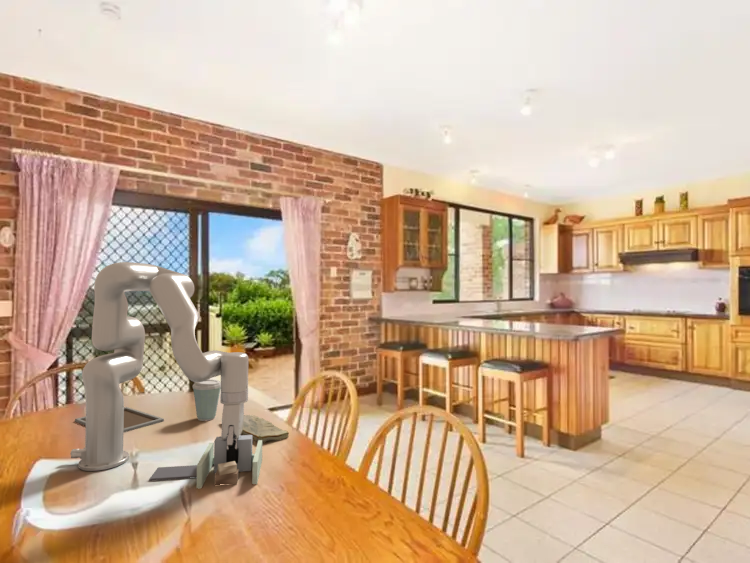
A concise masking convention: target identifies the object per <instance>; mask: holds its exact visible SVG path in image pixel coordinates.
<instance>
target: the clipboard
mask: <svg viewBox="0 0 750 563" xmlns="http://www.w3.org/2000/svg"><path fill="white" fill-rule="evenodd" d="M164 421H165V419H164V418H163V417H159V416H157V415H154V414H151V413H148V412H144V411H141V410H137V409H134V408H132V407H128V406H124V433H127V432H131V431H134V430H138V429H141V428H142V429H143V428H145V427H149V426H152V425H156V424H159V423H162V422H164ZM74 422H75V423H78V424H80V425H83V426H85V427H86V415H85V416H82V417H78V418H75V419H74Z"/></svg>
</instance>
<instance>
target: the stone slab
mask: <svg viewBox="0 0 750 563" xmlns="http://www.w3.org/2000/svg"><path fill="white" fill-rule="evenodd" d="M289 434H290V432H289V431H288V430H285V429H282V428H279V427H278V426H276V425H275V424H274V423H272V422H270V420H269V421H268V420H267V419H264V418H262V417H259V416H256V415H253V414H244V421H243V430H242V433H241V435H253V438H252V440H253V439H254V440H253V441H257V442H258V440H262V444H264V443H266V442H267V441H280V439H281V440H284V438H285V439H288V438H289V436H290V435H289ZM287 437H288V438H287ZM263 442H264V443H263Z"/></svg>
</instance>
